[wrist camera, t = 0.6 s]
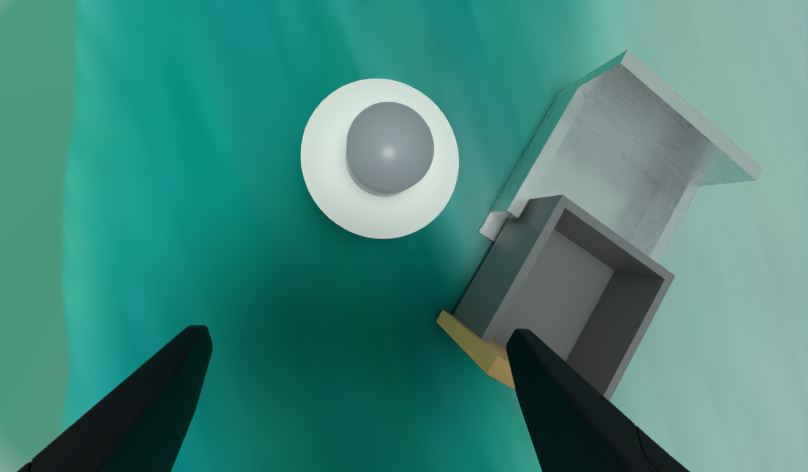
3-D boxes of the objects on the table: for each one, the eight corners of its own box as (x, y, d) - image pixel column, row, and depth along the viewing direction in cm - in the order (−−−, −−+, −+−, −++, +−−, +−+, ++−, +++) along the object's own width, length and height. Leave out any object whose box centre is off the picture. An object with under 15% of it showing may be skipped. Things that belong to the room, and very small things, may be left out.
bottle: (366, 249, 23) (394, 280, 10) (302, 190, 22) (247, 143, 9) (421, 190, 24) (514, 149, 11) (362, 131, 23) (387, 8, 10)
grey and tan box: (556, 390, 26) (659, 470, 17) (436, 321, 24) (487, 374, 15) (620, 271, 26) (748, 293, 18) (509, 194, 24) (596, 178, 16)
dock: (599, 311, 27) (674, 336, 21) (478, 231, 24) (522, 234, 18) (670, 180, 28) (762, 167, 22) (559, 91, 25) (627, 49, 19)
